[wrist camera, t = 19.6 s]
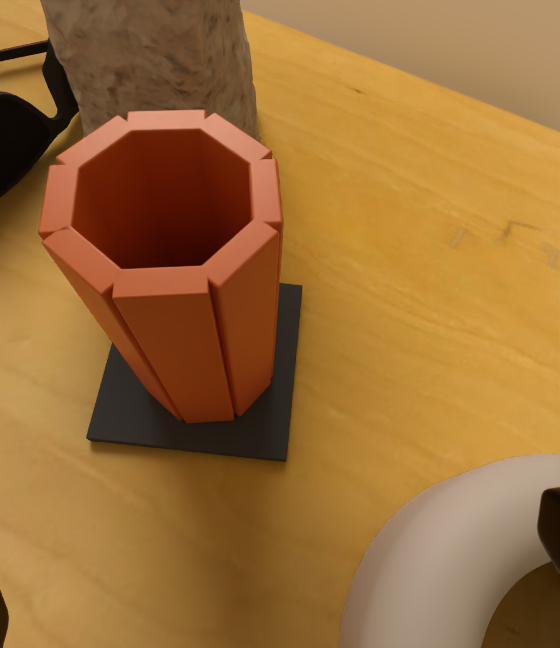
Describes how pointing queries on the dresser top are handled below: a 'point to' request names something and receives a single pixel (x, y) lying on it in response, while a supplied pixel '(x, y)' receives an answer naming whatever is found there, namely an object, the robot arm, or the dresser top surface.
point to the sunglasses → (32, 117)
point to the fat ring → (450, 558)
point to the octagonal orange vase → (175, 253)
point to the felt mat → (207, 437)
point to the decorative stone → (154, 58)
